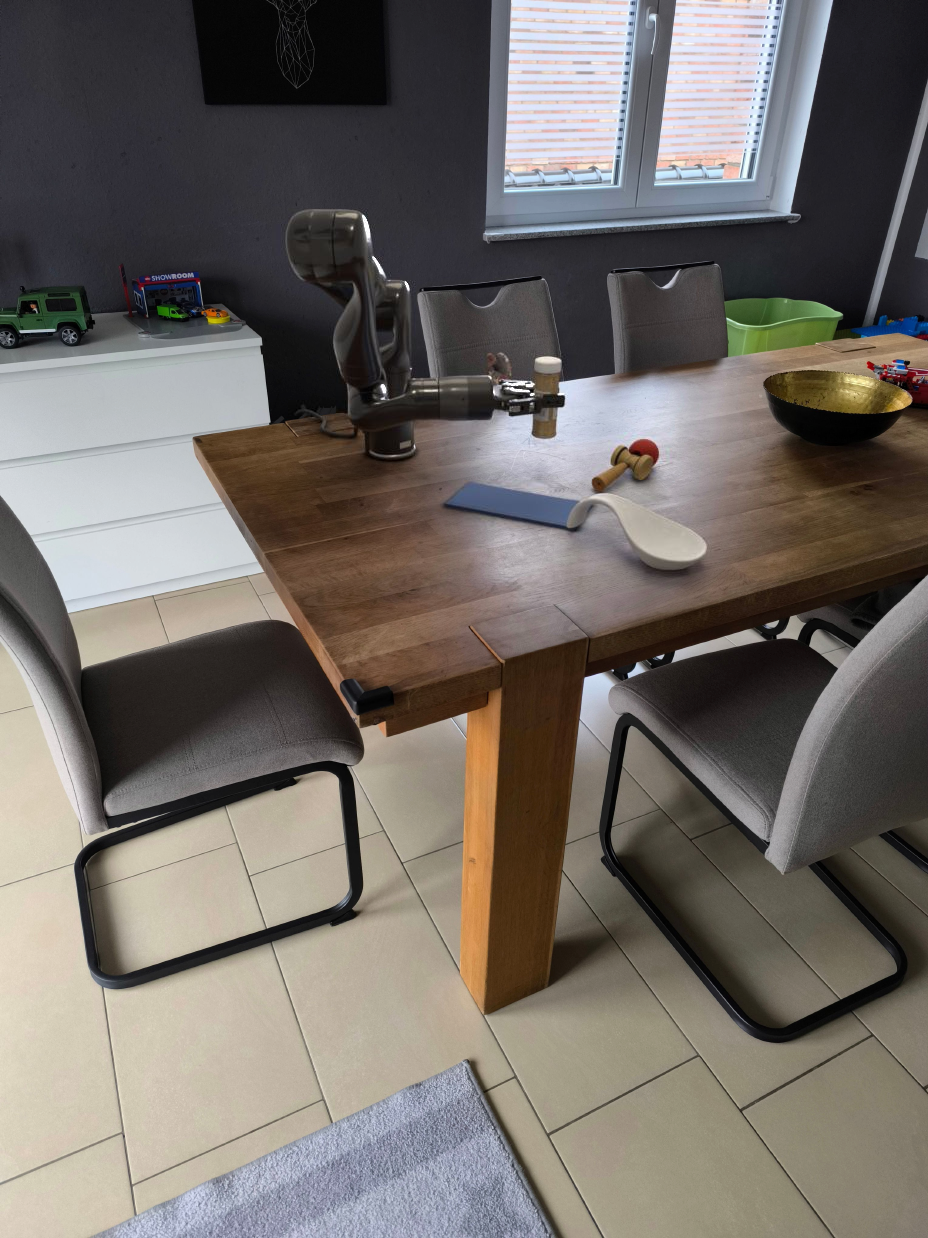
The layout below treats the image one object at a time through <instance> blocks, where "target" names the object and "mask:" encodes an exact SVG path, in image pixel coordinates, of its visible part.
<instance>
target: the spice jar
mask: <svg viewBox="0 0 928 1238" xmlns="http://www.w3.org/2000/svg"><path fill="white" fill-rule="evenodd" d="M533 367H534V384H535V385H534V394H560V392H559V393H558V389H559V390H560V374H561V371H562V360H561V359H560V358H559V357H555V356H540V357H536V358H535V360H534V365H533ZM532 405H534V403H532ZM558 409H559V408H543V409H542V410H541V413H538V414H532V426H531V427H532V428H531V432H530V433H531V436H532V437H534V438H536V439H542V440H550V439H553V438H555V437H556V436H557V432H558V431H557V422H558V413H559V412H558Z"/></svg>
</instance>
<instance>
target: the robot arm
mask: <svg viewBox="0 0 928 1238" xmlns="http://www.w3.org/2000/svg"><path fill="white" fill-rule="evenodd" d="M284 237H285V238H284V240H285V241H284V243H285V249H286V250H285V251H286V254H287V255H286V256H287V258H288V261H289V264H290V266H291V268H292V269H293V272H294V273H295V275H296V276H297V277H298V279H300V280H301V281H303V282H305V283H306V284H310V285H312V286H314V287H317V288H319V289H320V290H321V291H323V292H324V293H325V294H326V295H328V296H329V297H330V298H331V299H332V300H333V301H334V302H336V303H337V304H338V305H339V306H340V307H341V308H342V309H344V310H343V311H342V313H341V315H340V317H339V318H338V320H337V322H336V324H335V327H334V330H333V335H332V344H333V345H332V346H333V350H334V355H335V358H336V361H337V366H338V370H339V373H340V375H341V378H342V380H343V381H344V382H345V383H346V389H347V416H348V420H349V422H350V424H351V425H352V426H353V433H340V432H335V431H331V430H328V429H326V428H325V427H326V426H327V425H326V424H327V420H326V419H325V418H324V417H323V418H321V417H322V416H321V415H320V414H318V413H316V412H314V411H313V410H310V409H305V408H303V409H297V411H295V413H294V414H293V416H294V417H298V416H300V415H301V414H306V415H310V416H311V417H314V418H315V419H317V420H319V421H320V422H321V424H320V425H319V430H320V432H321V433H322V434H324V435H328V436H331V437H335V438H346V439H348V438H349V439H353V438H356V437H358V434H359V432H358V431H359V430H360V431H361V433H362V434H363V437H364V450H365V451H364V452H365V454H366V455H369V456H371V457H372V458H374V459H377V460H382V461H399V460H405V459H408V458H410V457H412V456H414V455H415V454H416V446H415V445H416V444H415V443H416V442H415V421H447V422H465V421H467V422H468V421H469V422H470V421H471V422H472V421H490V420H492V418H493V414H494V411H495V410H498V411H502V412H505V413H508V416H509V417H511V418H514V417H521V416H528V415H533V414H538V413H541V410H542V409H543V408H558V409H559V408H564V407H565V405H566V396H565V394H564V393H560V388H559V389H558V393H559V394H534V385H535V383H533V381H531V380H515V379H509V380H504V379H501V380H499V385H496V386H493V382H492V378H491V377H490V376H489V375H487V374H484V375H480V374H479V375H448V376H442V377H417V378H416V377H415V378H413V363H412V293H411V289H410V286H409V284H408V283H407V281H406V280H403V279H387V276H386V273H385V272H384V271H385V270H384V269H383V267H382V266H381V264H380V263H379V262H378V260H377V259H376V258H375V257H374V252H373V242H372V235H371V230H370V226H369V223H368V221H367V218H366V216H365V215H364V214H363V212H360V211H359V210H354V209H338V208H337V209H333V208H332V209H330V208H329V209H326V208H325V209H322V208H321V209H320V208H319V209H317V208H315V209H304V210H300V211H298V212H296V213H295V214H294V215H292V217H291V218H290V219H289V221H288V223H287V226H286V230H285V236H284ZM378 333H391V334H392V335H393V337H392V339H391V340H389V341H388V342H386V343H385V344H382V345H380V344H379V338H378ZM533 403H534V405H533Z"/></svg>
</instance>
